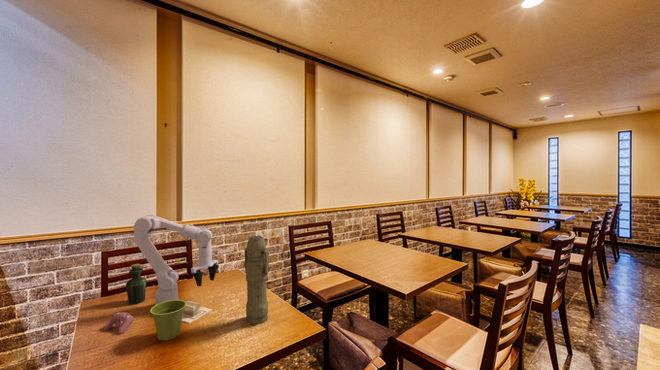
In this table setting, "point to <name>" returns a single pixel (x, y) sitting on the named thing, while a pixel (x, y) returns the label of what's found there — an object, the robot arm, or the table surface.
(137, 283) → the potion bottle
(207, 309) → the mat
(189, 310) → the tall beige pillar block
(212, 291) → the table surface
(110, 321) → the video game controller
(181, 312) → the plant pot
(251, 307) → the thermos
